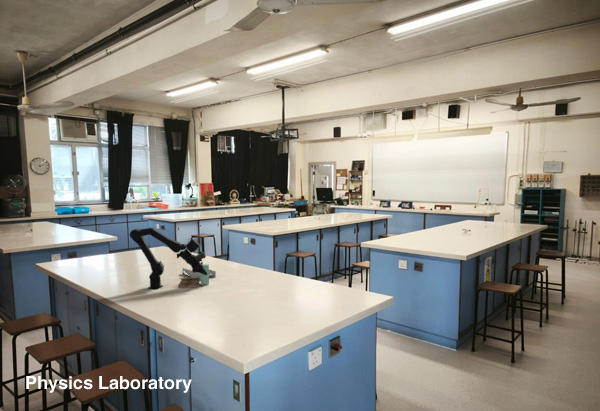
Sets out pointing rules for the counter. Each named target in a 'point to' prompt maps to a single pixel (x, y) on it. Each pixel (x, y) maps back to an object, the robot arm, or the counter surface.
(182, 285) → the track board
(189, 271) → the test tube rack
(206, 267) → the mint green tall box
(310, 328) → the counter surface
